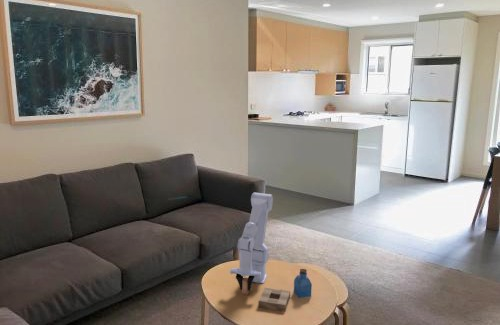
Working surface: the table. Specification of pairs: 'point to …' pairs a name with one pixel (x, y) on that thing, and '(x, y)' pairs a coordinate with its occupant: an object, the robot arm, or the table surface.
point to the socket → (274, 299)
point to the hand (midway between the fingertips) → (245, 289)
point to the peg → (245, 286)
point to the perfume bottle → (302, 284)
